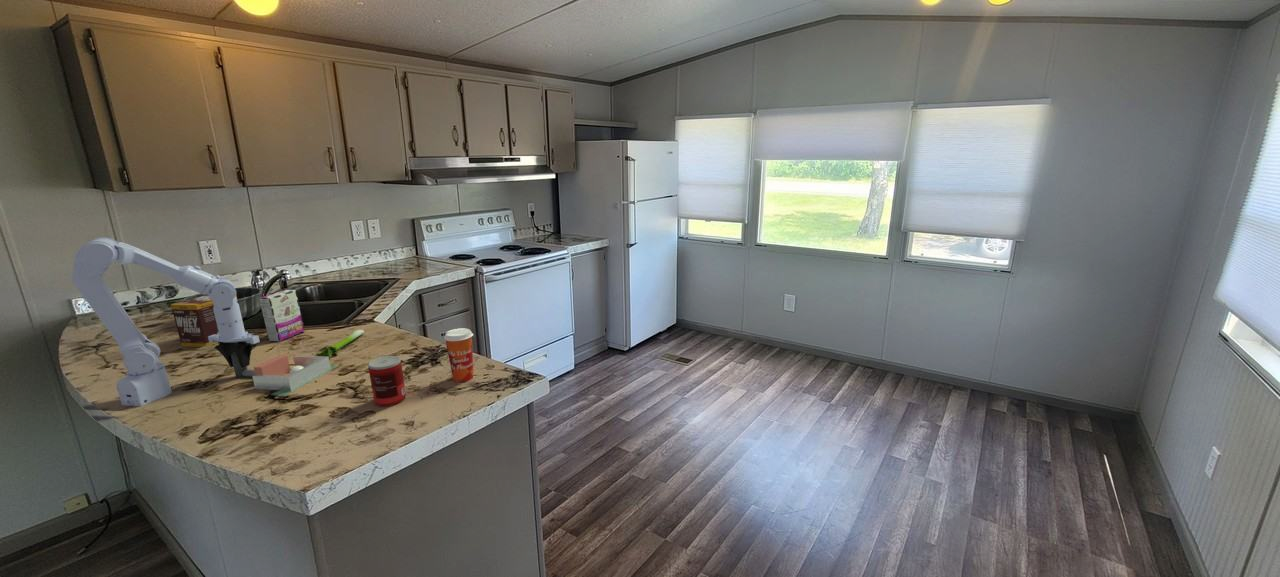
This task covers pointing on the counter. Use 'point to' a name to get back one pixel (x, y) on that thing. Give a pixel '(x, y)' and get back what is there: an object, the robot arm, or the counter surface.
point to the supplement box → (195, 321)
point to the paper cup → (460, 353)
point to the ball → (295, 369)
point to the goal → (294, 374)
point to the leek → (340, 344)
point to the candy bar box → (282, 315)
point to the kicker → (262, 367)
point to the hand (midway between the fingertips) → (240, 365)
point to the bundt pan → (243, 300)
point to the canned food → (387, 380)
